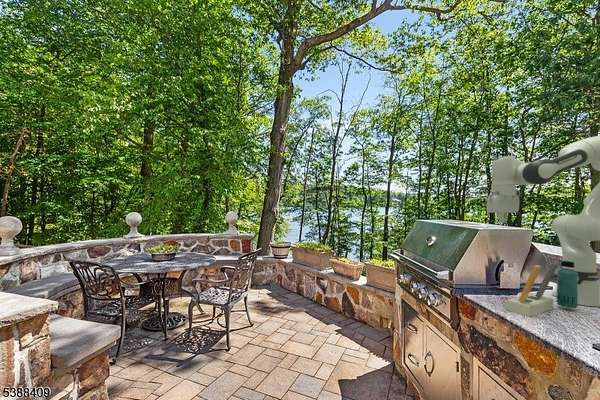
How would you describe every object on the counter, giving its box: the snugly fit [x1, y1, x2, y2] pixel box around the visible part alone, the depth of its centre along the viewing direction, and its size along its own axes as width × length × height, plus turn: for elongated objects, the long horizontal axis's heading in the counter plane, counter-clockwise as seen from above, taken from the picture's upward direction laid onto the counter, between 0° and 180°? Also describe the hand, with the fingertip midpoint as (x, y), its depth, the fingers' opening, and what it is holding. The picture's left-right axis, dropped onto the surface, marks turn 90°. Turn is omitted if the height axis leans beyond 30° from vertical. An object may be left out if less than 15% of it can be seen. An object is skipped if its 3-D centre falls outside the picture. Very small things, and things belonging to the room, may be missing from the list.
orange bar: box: [518, 264, 542, 303], centre depth 113 cm, size 3×1×16 cm, turn 118°
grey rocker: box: [535, 262, 559, 297], centre depth 120 cm, size 3×1×16 cm, turn 118°
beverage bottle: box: [556, 260, 578, 309], centre depth 119 cm, size 6×7×20 cm
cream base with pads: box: [505, 292, 554, 318], centre depth 119 cm, size 20×8×4 cm, turn 118°
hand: (502, 222), depth 129 cm, fingers closed
